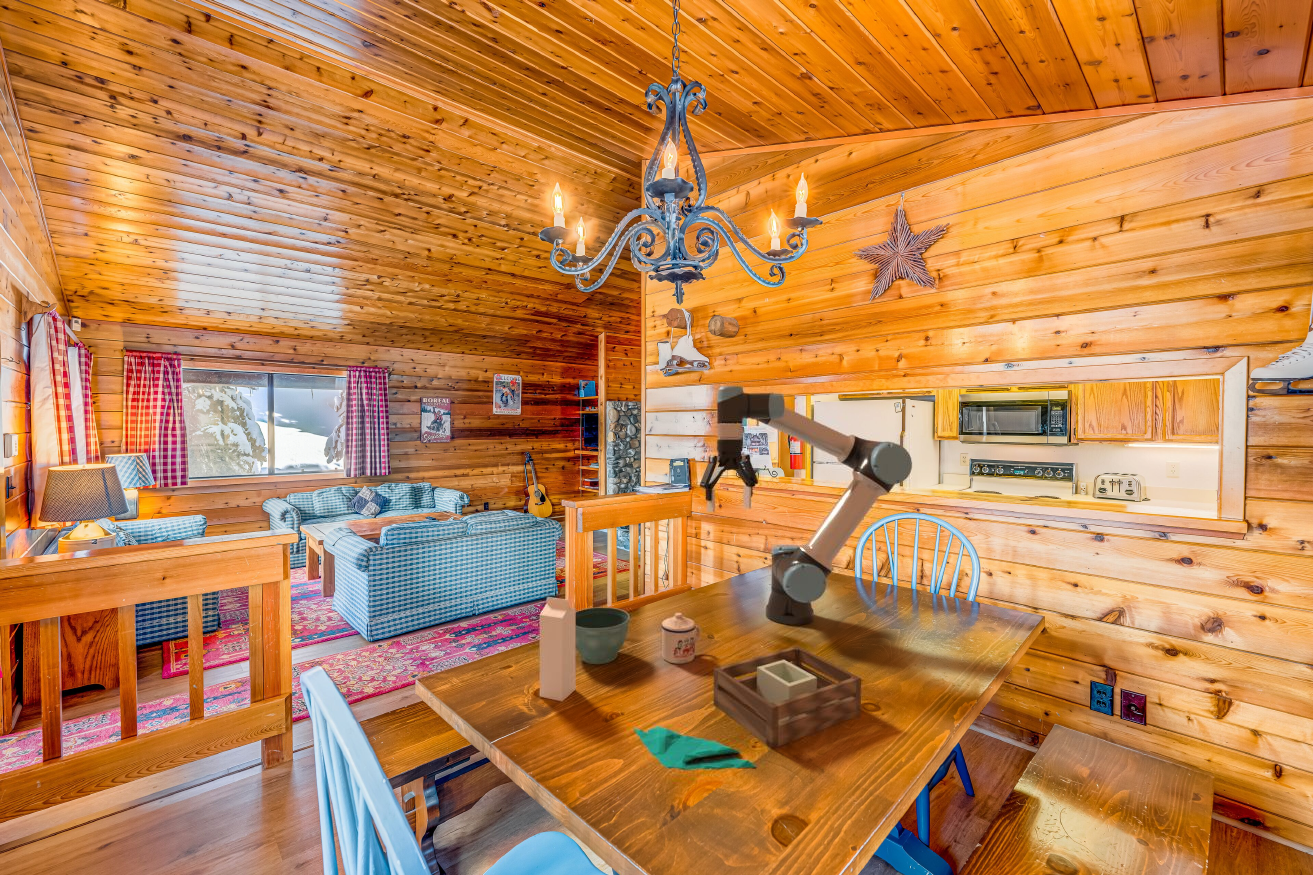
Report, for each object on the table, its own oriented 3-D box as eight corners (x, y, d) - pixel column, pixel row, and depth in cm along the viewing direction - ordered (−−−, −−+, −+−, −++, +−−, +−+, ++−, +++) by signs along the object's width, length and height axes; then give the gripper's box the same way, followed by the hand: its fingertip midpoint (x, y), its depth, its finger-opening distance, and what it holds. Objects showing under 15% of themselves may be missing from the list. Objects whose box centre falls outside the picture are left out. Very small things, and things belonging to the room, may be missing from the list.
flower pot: (556, 656, 144) (556, 616, 144) (603, 639, 155) (603, 602, 155) (593, 677, 132) (593, 633, 132) (641, 657, 144) (642, 617, 144)
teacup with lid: (675, 667, 138) (675, 622, 138) (654, 655, 145) (654, 612, 145) (710, 656, 145) (711, 613, 145) (689, 644, 152) (689, 603, 152)
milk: (553, 685, 129) (553, 592, 128) (575, 689, 126) (576, 595, 126) (539, 697, 123) (539, 600, 122) (562, 702, 121) (562, 603, 120)
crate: (796, 678, 133) (797, 645, 132) (860, 714, 116) (861, 677, 116) (713, 704, 120) (713, 668, 120) (771, 749, 104) (772, 707, 103)
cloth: (613, 743, 107) (613, 731, 107) (657, 714, 117) (657, 704, 117) (725, 803, 90) (725, 789, 90) (765, 763, 100) (765, 751, 100)
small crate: (783, 689, 124) (783, 659, 124) (816, 709, 116) (816, 677, 116) (756, 698, 120) (757, 667, 120) (788, 719, 112) (789, 686, 112)
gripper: (753, 437, 170) (753, 505, 171) (687, 438, 157) (687, 511, 158) (770, 438, 164) (769, 508, 164) (703, 439, 151) (702, 515, 151)
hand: (729, 510), depth 161 cm, fingers open, 13 cm apart
